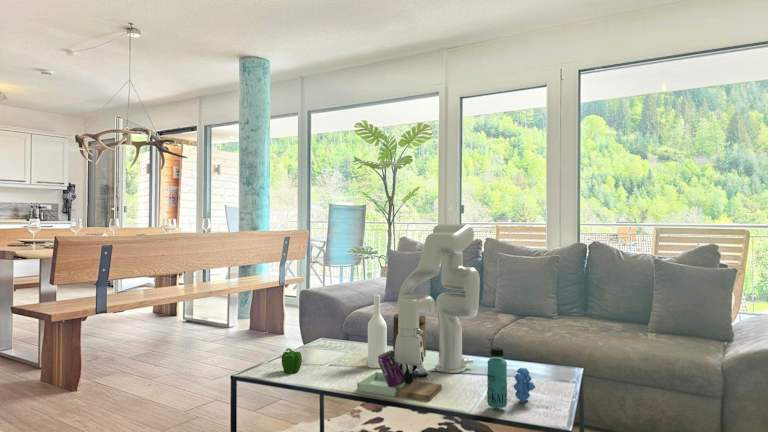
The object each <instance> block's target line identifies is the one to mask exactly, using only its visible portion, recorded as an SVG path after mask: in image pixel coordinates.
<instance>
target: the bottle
mask: <svg viewBox="0 0 768 432" xmlns="http://www.w3.org/2000/svg"><path fill="white" fill-rule="evenodd" d="M387 325H388V324H387V323H386V320H385V319H384V318H383V315H382V314H381V295H380V294H373V314H372V316H371V318H370V319H369V321H368V323H367V366H368V367H369V368H371V369H381V368H380V365H379V363H378V356H380V355H381V354H383V353H386V352H388V351H387V350H388V346H387V344H388V342H387V340H388V339H387V337H388V334H387V331H388V330H387V329H388V328H387Z"/></svg>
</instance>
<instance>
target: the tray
mask: <svg viewBox="0 0 768 432" xmlns="http://www.w3.org/2000/svg"><path fill="white" fill-rule="evenodd" d="M356 385H357V387H356V388H357V392H361V393H366V394H372V395H379V396H387V397H392V398H396V397H397V390H399V389H400V388H401V387H403V386H404V385H406V384H405V381H404V383H403V384H401V385H399V386H397V387H393V388H392V387H388V384H387V382H386V380H385V377H384V375H383V372H382V371H373V373H371V374H369V375H368V376H367V377H365V378H363V379H361V380H360V381H358V382H357V383H356Z"/></svg>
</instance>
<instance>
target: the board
mask: <svg viewBox="0 0 768 432" xmlns="http://www.w3.org/2000/svg"><path fill="white" fill-rule="evenodd" d="M442 386H443V385H442V383H441V384H440V383H433V382H427V381H426V382H425V381H419V380H413V382H412V383H411V384H406V385H404V386H403V387H401V388H400V389H399V390H397V396H396V397H398V398H404V399H411V400H417V401H424V402H430V401H432V399H434V398H435V397H436V396H437V395H438V394H439V393H440V392H441V391H442V390H443V388H442Z"/></svg>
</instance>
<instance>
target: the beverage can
mask: <svg viewBox="0 0 768 432" xmlns="http://www.w3.org/2000/svg"><path fill="white" fill-rule="evenodd" d="M394 355H395V353H394V352H393V349H391V350H388V351H387V352H386V353H383V354H381V355H380V356H378V363H379V365H380V368H379V369H380V370H381V373H383V375H384V377H385V380H386V382H387V384H388V387H392V388H393V387H397V386H399V385H401V384H403V383H404V381H405V380H404V372H403V370H402V368H401V367H400V366H398V363H397V362H396V361H395V357H394Z"/></svg>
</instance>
